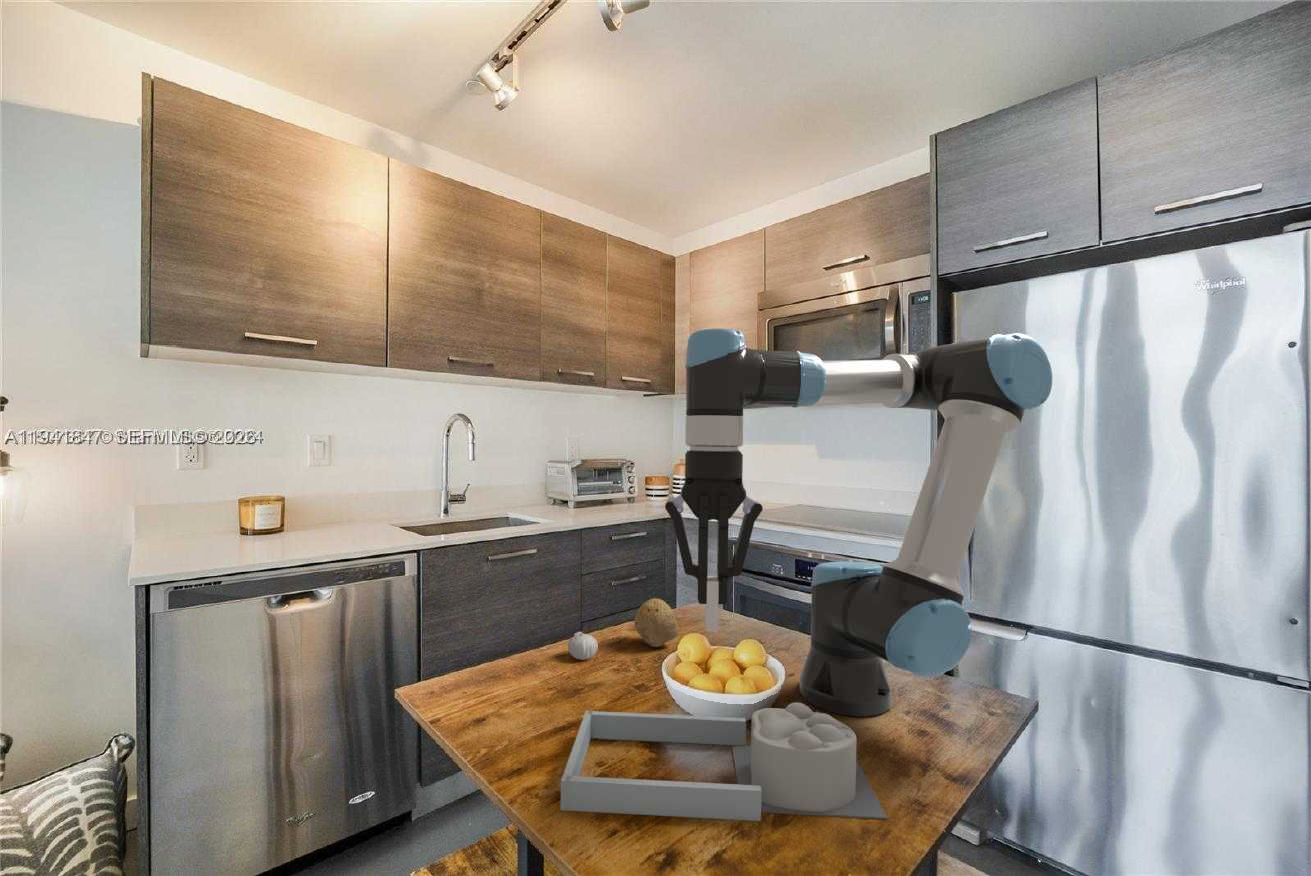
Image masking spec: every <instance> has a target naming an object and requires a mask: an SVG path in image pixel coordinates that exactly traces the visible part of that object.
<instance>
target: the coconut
mask: <svg viewBox="0 0 1311 876" xmlns="http://www.w3.org/2000/svg"><path fill="white" fill-rule="evenodd" d="M678 623H679V622H678V621H677V619H676V616H675V614H674V611H673V609H672V607H671V606H670V604H668V603H667V602H666V601H664V600H663V599H661V598H657V597H656V598H650V599H648V600H646V601H644V602H643V604H641V605H640V607H639V608H638V609H637V611H636V614H635V618H634V627H635V629H636V631H637V633H638V634H639V636H640V637H641V638H642V639H643V641H644V642H645V643H646V644H647V645H649V646H650V647H652V648H660V647H662V646H663V645H665V643H667V642H670V641H672V640H674V639H675V638H676V637H677V636H678V634H679V624H678Z"/></svg>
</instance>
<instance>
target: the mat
mask: <svg viewBox="0 0 1311 876" xmlns="http://www.w3.org/2000/svg"><path fill="white" fill-rule="evenodd" d="M731 749H732V757H733V763H734V769H735V776H736V781H737V785H751V782H752V774H751V770H750V765H751V745H749V746H747V745H745V746H741V745H731ZM762 813H764V814H766V813H767V814H782V815H783V814H784V815H799V816H801V815H803V816H820V817H822V816H823V817H836V818H837V817H840V818H856V819H857V818H858V819H875V820H888V815H887V813H886V812H885V809H884V808H883V806H882V804H881V803H880V801H879V799H878V797H877V795H876V793H875V791H874V789H873V787H872V786H871V784H870V782H869V781H868V779H867V777H866V775H865V772H864V771H863V769H862V767H861V766H860V763H859V762H858V760H857V759H856V791H855V797H854V798H853V800H852V801H851V802H849V803H848V804H847V805H845V806H842V807H840V808H836V809H833V810H829V811H804V810H795V809H788V808H783V807H777V806H772V805H769V804H766V803H764V802H762V801H761V814H762Z"/></svg>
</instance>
